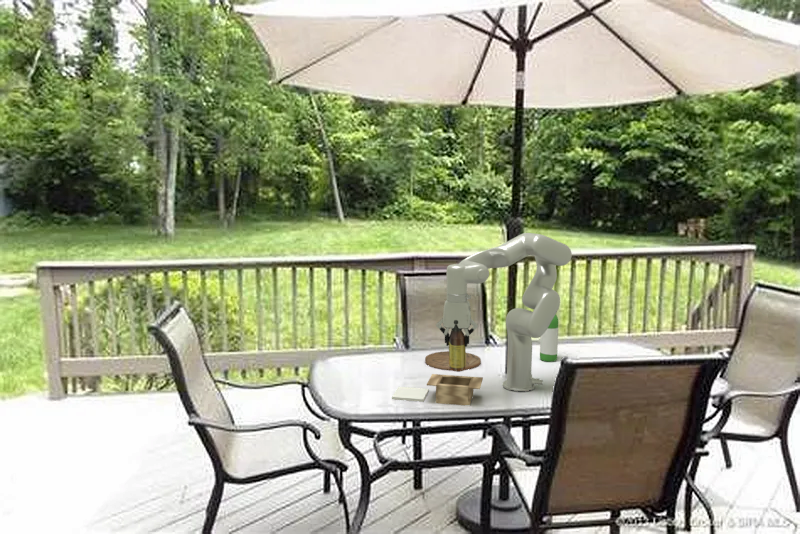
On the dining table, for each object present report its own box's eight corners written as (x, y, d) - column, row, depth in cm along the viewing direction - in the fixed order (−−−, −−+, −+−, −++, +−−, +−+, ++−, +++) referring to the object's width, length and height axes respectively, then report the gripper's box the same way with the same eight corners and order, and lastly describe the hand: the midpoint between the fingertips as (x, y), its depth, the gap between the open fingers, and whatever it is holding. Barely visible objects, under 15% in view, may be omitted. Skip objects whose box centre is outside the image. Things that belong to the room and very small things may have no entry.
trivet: (437, 352, 305) (437, 348, 305) (488, 359, 295) (488, 355, 294) (415, 366, 283) (415, 362, 283) (469, 374, 272) (469, 370, 272)
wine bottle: (540, 356, 298) (542, 293, 293) (557, 358, 295) (560, 294, 291) (538, 361, 290) (540, 296, 286) (556, 363, 288) (558, 297, 284)
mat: (428, 391, 250) (428, 388, 250) (423, 401, 239) (423, 399, 238) (398, 389, 253) (398, 386, 252) (391, 399, 241) (391, 396, 241)
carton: (482, 395, 246) (482, 377, 245) (479, 406, 234) (480, 388, 233) (432, 391, 250) (432, 373, 249) (426, 402, 238) (426, 384, 237)
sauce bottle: (455, 366, 245) (455, 315, 242) (469, 369, 241) (469, 317, 238) (445, 370, 240) (445, 318, 237) (459, 373, 236) (459, 321, 233)
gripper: (481, 296, 238) (481, 343, 241) (435, 295, 242) (435, 341, 245) (479, 300, 231) (479, 349, 234) (431, 299, 235) (432, 347, 237)
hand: (457, 344), depth 239 cm, fingers closed on sauce bottle, 6 cm apart
